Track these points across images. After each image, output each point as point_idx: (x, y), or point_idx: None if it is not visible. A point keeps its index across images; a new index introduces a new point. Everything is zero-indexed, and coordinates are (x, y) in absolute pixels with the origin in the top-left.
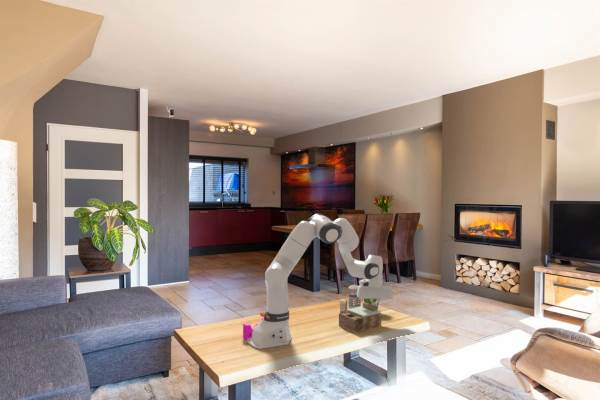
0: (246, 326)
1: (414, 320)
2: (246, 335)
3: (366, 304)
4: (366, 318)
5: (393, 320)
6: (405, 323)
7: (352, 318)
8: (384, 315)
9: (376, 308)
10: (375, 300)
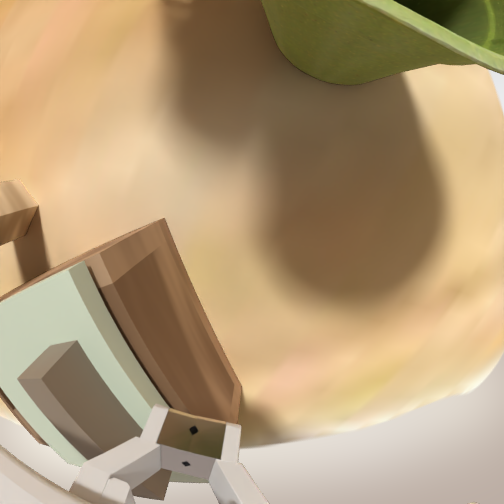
0: None
1: (498, 330)
2: None
3: (61, 433)
4: None
5: (407, 310)
6: (426, 373)
7: (24, 425)
8: (417, 162)
9: (388, 75)
10: (421, 58)
